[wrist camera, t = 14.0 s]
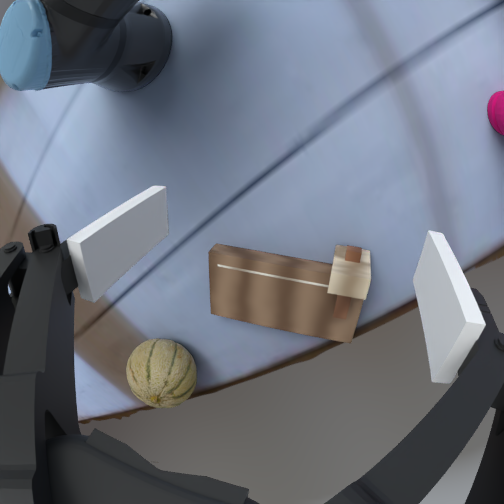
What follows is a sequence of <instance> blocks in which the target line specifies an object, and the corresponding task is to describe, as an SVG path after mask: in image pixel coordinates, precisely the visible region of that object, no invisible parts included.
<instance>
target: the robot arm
mask: <svg viewBox="0 0 504 504" xmlns="http://www.w3.org/2000/svg"><path fill="white" fill-rule="evenodd" d="M138 1H139V0H16V1H15V2H13V3H12V4H11V5H10V7H9V8H8V10H7V12H6V13H5V15H4V18H3V20H2V23H1V26H0V74H1V76H2V78H3V80H4V82H5V83H6V84H7V85H8V86H9V87H10V88H12V89H14V90H18V91H24V90H37V91H38V90H42V89H47V88H53V87H60V86H67V85H75V84H83V83H94V84H96V85H99V86H101V87H104V88H106V89H108V90H112V91H118V92H122V91H133V90H137V89H139V88H142V87H144V86H145V85H147V84H148V83H150V82H151V81H152V80H153V79H154V78H155V77H156V76H157V75H158V74H159V73H160V71H161V70H162V68H163V67H164V65H165V63H166V61H167V59H168V56H169V53H170V49H171V42H172V34H171V28H170V24H169V22H168V20H167V18H166V16H165V15H164V14H163V13H162V12H161V11H160V10H159V9H157V8H156V7H154V6H151V5H148V4H144V3H139V2H138ZM167 235H169V227H168V211H167V192H166V187H165V186H156V185H154V186H152V187H150V188H148V189H147V190H145V191H143V192H141V193H140V194H138V195H136V196H135V197H133V198H131V199H130V200H128V201H126V202H125V203H123V204H121V205H120V206H118V207H116V208H115V209H113V210H112V211H110V212H108V213H107V214H105V215H104V216H102V217H100V218H99V219H97V220H96V221H94V222H93V223H91V224H89V225H88V226H86V227H85V228H83V229H82V230H80V231H79V232H77V233H76V234H74V235H73V236H71V237H70V238H68V239H67V240H65V241H64V242H62V243H61V244H60V241H59V237H58V232H57V227H56V225H54V224H44V225H40V226H37V227H35V228H33V229H32V230H31V231H30V232H29V233H28V236H29V240H30V244H31V247H32V251H33V252H32V253H26V252H25V250H24V247H23V243H21V242H10V243H8V244H6V245H5V246H3V247H2V248H1V249H0V504H259V503H257V502H256V501H254V500H252V499H250V498H248V492H249V489H247V488H244V487H239V486H236V485H233V484H229V483H226V482H222V481H219V480H216V479H213V478H210V477H207V476H197V475H189V474H182V473H175V472H168V471H162V470H160V469H158V468H156V467H155V466H154V465H152V464H151V463H150V462H148V461H147V460H146V459H144V458H143V457H142V456H141V455H139V454H138V453H137V452H135V451H134V450H133V449H132V448H130V447H129V446H128V445H127V444H125V443H122V442H121V441H119V440H117V439H114V438H113V437H111V436H109V435H107V434H105V433H103V432H101V431H99V430H97V429H94V430H93V432H92V433H91V435H90V436H85V435H81V432H80V429H79V425H78V415H77V404H76V391H75V373H74V302H75V298H74V294H73V290H74V289H75V288H77V287H78V288H79V292H80V295H81V298H83V299H85V300H88V301H91V302H93V303H95V302H96V301H97V300H98V299H99V298H100V297H101V296H102V295H103V294H104V293H105V292H106V291H107V290H108V289H109V288H110V287H111V286H112V285H113V284H114V283H116V282H117V281H118V280H119V279H120V278H121V277H122V276H123V275H124V274H125V273H126V272H127V271H128V270H129V269H131V268H132V267H133V266H134V265H135V264H136V263H137V262H138V261H139V260H140V259H142V258H143V257H144V256H145V255H146V254H147V253H148V252H149V251H150V250H152V249H153V248H154V247H155V246H156V245H157V244H158V243H159V242H161V241H162V240H163V239H164V238H165V237H166V236H167ZM413 283H414V288H415V292H416V296H417V301H418V305H419V310H420V315H421V319H422V325H423V330H424V335H425V340H426V346H427V352H428V358H429V365H430V371H431V379H432V382H437V383H448V384H450V383H451V381H452V380H453V379H454V377H455V375H456V374H457V372H458V376H459V377H458V378H457V380H456V381H455V382H454V383H453V385H452V386H451V387H450V388H449V389H448V391H447V392H446V393H445V394H444V395H443V397H442V398H441V399H440V400H439V402H438V403H437V404H436V405H435V406H434V407H433V408H432V409H431V410H430V412H429V413H428V414H427V415H426V416H425V417H424V418H423V419H422V420H421V421H420V422H419V424H418V425H417V426H416V427H415V428H414V429H413V430H412V431H411V432H410V433H409V434H408V435H407V436H406V437H405V438H404V439H403V440H402V441H401V442H400V443H399V444H398V445H397V446H396V447H395V448H394V449H393V450H392V451H391V452H389V453H388V454H387V455H386V456H385V457H384V458H383V459H382V460H381V461H380V462H379V463H377V464H376V465H375V466H374V467H373V468H372V469H371V470H370V471H368V472H367V473H366V474H365V475H363V476H362V477H361V478H360V479H358V480H357V481H355V482H353V483H352V484H350V485H349V486H347V487H346V488H345V489H343V490H342V491H341V492H339V493H338V494H337V495H335V496H334V497H333V498H331V499H330V500H329V501H328V502H326V503H324V504H419V503H420V502H421V501H422V500H423V498H424V497H425V496H426V495H427V494H428V493H429V492H430V491H431V489H432V488H433V487H434V486H435V485H436V483H437V482H438V481H439V480H440V479H441V477H442V476H443V475H444V474H445V472H446V471H447V470H448V468H449V467H450V466H451V464H452V463H453V462H454V461H455V459H456V458H457V457H458V455H459V454H460V452H461V451H462V450H463V448H464V447H465V446H466V444H467V442H468V441H469V440H470V438H471V437H472V435H473V434H474V432H475V431H476V429H477V428H478V426H479V425H480V423H481V421H482V420H483V418H484V417H485V415H486V413H487V411H488V410H489V408H490V407H492V408H495V409H496V412H495V416H494V420H493V424H492V428H491V431H490V435H489V438H488V442H487V445H486V448H485V451H484V455H483V458H482V461H481V464H480V466H479V469H478V472H477V475H476V477H475V480H474V483H473V485H472V488H471V490H470V493H469V495H468V497H467V500H466V502H465V504H504V334H503V333H500V332H499V331H498V328H497V326H496V324H495V321H494V319H493V316H492V314H490V310H489V308H488V307H487V303H486V301H485V299H484V297H483V296H482V295H481V294H480V293H479V292H478V290H477V289H474V288H470V287H469V285H468V282H467V280H466V278H465V276H464V274H463V272H462V270H461V268H460V266H459V264H458V262H457V260H456V258H455V256H454V254H453V252H452V250H451V248H450V246H449V244H448V243H447V241H446V239H445V237H444V235H443V233H439V232H434V231H430V230H428V233H427V237H426V240H425V243H424V247H423V250H422V253H421V256H420V259H419V262H418V265H417V268H416V271H415V274H414V277H413ZM8 285H9V287H10V290H11V294H10V295H9V292H8Z"/></svg>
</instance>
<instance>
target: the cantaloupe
mask: <svg viewBox="0 0 504 504" xmlns="http://www.w3.org/2000/svg"><path fill="white" fill-rule="evenodd" d="M126 372H127V379H128V382H129V384H130V387H131V390H132V391H133V393H134V395H136V397H137V398H139V399H140V400H141V401H143V402H145V403H146V404H148V405H150V406H154V407H157V408H172V407H176V406H178V405H180V404H181V403H182V402H184V401H185V400H187V399H188V398H189V397H190V395H191V394H192V392H193V391H194V388H195V386H196V382H197V370H196V365H195V362H194V359H193V357H192V355H191V354H190V353H189V352H188V351H187V350H186V349H185V348H184V347H183V346H182V345H181V344H178V343H175V342H174V341H172V340H168V339H158V338H157V339H151V340H147V341H145V342H143V343H142V344H140V345H139V346H138V347H137V348H136V349H135V350H134V351H133V353H132V354H131V356H130V358H129V360H128V363H127V370H126Z"/></svg>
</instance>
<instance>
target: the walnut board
mask: <svg viewBox="0 0 504 504" xmlns="http://www.w3.org/2000/svg"><path fill="white" fill-rule="evenodd" d="M332 265H333V264H328V263H323V262H317V261H311V260H306V259H300V258H295V257H289V256H283V255H278V254H272V253H266V252H261V251H255V250H249V249H244V248H238V247H233V246H227V245H221V244H215V246H214V247H213V248H212V249H211V250H210V251H209V279H210V304H211V314H214V315H218V316H222V317H227V318H231V319H235V320H239V321H244V322H248V323H252V324H257V325H261V326H266V327H270V328H275V329H280V330H284V331H289V332H294V333H299V334H304V335H309V336H314V337H319V338H324V339H330V340H335V341H340V342H346V343H351V342H352V338H353V335H354V332H355V328H356V325H357V322H358V318H359V315H360V311H361V308H362V304H363V300H364V299H359V298H353V297H352V298H351V302H350V306H349V310H348V313H347V317H346V320H345V319H340V318H334V317H333V312H334V307H335V303H336V298H337V295H336V294H331V293H327V292H328V287H329V282H330V276H331V270H332Z"/></svg>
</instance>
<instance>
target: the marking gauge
mask: <svg viewBox="0 0 504 504" xmlns="http://www.w3.org/2000/svg"><path fill="white" fill-rule="evenodd" d="M370 282H371V265H370V251H369V250H363V249H362V248H359V247H354V246H348V245H347V246H341V245H336V247H335V253H334V259H333V265H332V270H331V276H330V282H329V287H328V292H327V293H331V294H336V295H337V298H336V303H335V307H334V312H333V317H334V318H340V319H345V320H346V317H347V313H348V310H349V306H350V302H351V298H352V297H353V298H359V299H364V300H366V297H367V293H368V289H369V286H370Z"/></svg>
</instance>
